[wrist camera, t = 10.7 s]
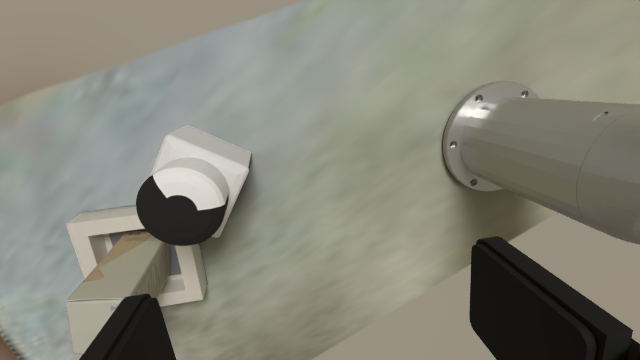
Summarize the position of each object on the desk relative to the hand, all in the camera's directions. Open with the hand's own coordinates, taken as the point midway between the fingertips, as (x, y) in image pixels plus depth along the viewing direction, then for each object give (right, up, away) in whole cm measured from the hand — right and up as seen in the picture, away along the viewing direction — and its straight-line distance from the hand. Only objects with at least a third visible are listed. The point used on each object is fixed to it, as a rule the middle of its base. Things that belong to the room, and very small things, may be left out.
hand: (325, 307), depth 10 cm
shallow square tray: (-19, -4, +26) cm, 32 cm away
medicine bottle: (-12, +5, +25) cm, 28 cm away
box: (-18, -4, +25) cm, 31 cm away
